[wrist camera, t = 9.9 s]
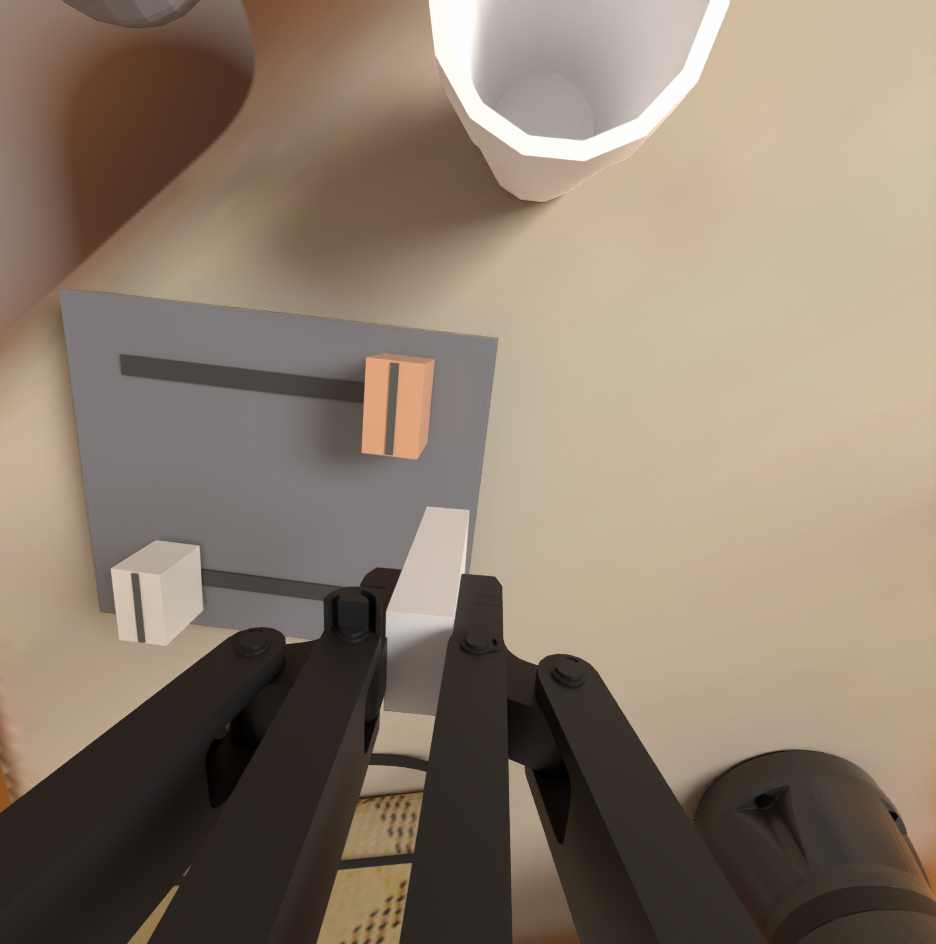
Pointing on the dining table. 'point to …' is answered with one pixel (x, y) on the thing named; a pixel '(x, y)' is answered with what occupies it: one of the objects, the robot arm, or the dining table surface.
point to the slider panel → (261, 448)
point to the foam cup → (567, 80)
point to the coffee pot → (134, 11)
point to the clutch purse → (361, 870)
